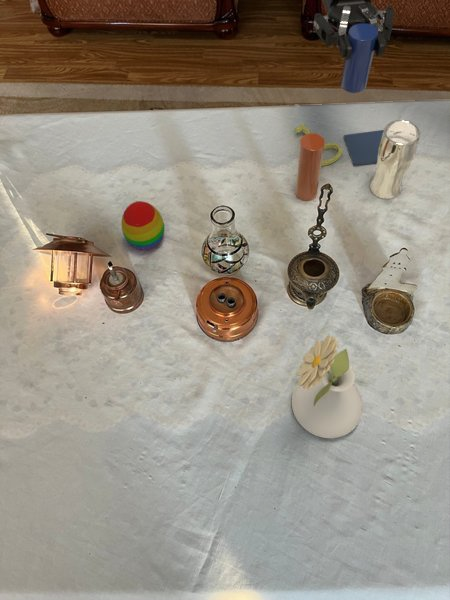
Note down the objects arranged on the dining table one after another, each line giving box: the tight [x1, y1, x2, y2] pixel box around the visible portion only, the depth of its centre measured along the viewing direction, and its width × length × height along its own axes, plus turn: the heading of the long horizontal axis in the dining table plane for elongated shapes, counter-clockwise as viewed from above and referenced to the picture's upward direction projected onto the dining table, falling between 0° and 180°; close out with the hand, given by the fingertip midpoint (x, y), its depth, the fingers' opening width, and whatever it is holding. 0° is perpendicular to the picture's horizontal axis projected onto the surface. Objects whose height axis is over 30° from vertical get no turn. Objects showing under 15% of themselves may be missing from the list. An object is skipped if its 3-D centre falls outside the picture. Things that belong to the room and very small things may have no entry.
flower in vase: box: [291, 334, 364, 439], centre depth 75 cm, size 13×11×25 cm
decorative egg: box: [121, 200, 165, 251], centre depth 102 cm, size 8×8×10 cm
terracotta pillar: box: [294, 132, 326, 202], centre depth 104 cm, size 5×5×14 cm
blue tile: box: [343, 129, 384, 167], centre depth 115 cm, size 9×9×1 cm
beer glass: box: [369, 119, 421, 200], centre depth 103 cm, size 7×7×15 cm
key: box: [293, 123, 343, 167], centre depth 115 cm, size 7×12×2 cm, turn 49°
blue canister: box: [340, 23, 378, 94], centre depth 89 cm, size 5×5×10 cm
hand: (365, 53), depth 85 cm, fingers closed on blue canister, 4 cm apart
